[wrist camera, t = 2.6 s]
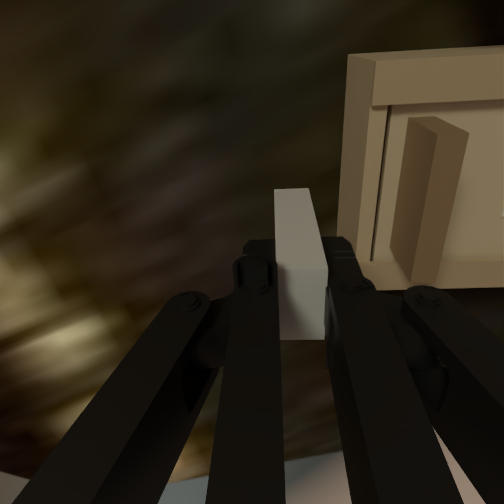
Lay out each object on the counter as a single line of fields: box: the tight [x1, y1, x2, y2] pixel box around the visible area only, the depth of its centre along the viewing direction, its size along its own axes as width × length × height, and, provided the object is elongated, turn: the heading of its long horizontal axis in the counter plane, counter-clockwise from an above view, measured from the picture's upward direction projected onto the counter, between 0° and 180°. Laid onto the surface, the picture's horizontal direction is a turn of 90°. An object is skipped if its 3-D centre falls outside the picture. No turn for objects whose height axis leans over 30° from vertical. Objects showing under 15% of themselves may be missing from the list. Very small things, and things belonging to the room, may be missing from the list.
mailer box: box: [337, 45, 504, 290], centre depth 21 cm, size 16×12×6 cm
